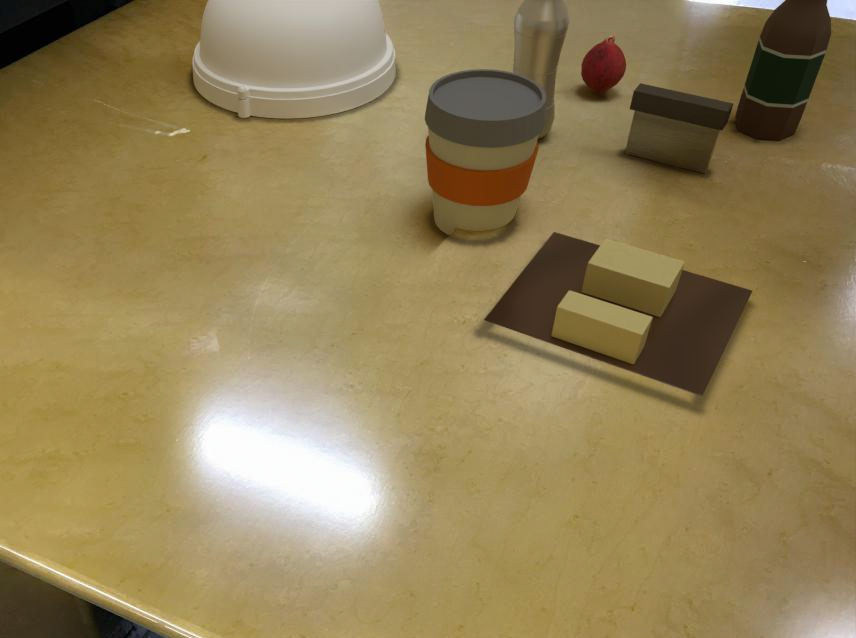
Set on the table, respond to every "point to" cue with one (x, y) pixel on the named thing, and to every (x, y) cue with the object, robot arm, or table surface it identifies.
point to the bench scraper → (675, 127)
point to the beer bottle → (784, 69)
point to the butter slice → (601, 326)
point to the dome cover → (292, 56)
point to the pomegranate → (603, 66)
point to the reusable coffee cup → (481, 146)
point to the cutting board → (668, 335)
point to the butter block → (632, 277)
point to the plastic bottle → (540, 46)
